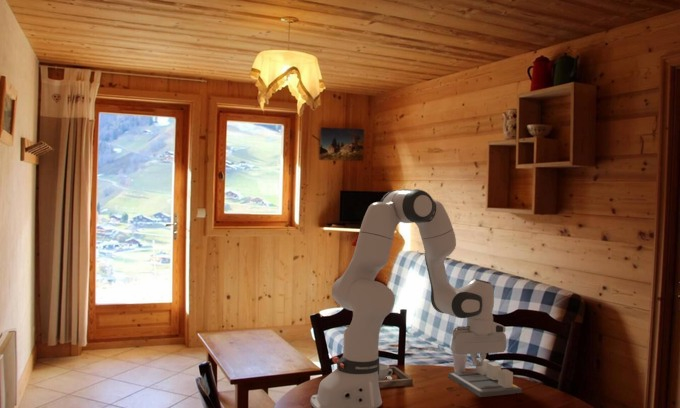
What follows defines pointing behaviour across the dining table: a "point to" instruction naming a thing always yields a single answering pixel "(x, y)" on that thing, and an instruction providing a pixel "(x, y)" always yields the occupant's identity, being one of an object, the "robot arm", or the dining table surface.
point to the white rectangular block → (493, 370)
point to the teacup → (384, 372)
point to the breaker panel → (486, 381)
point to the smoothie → (459, 362)
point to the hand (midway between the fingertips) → (477, 365)
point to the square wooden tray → (399, 382)
